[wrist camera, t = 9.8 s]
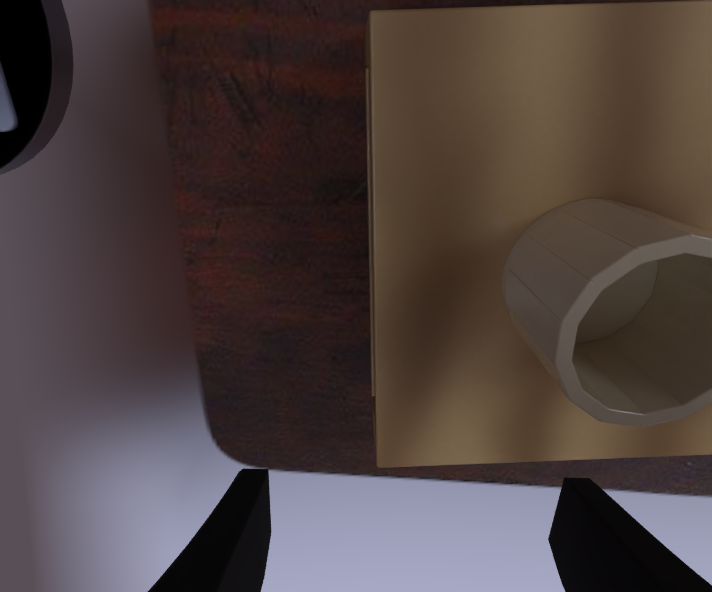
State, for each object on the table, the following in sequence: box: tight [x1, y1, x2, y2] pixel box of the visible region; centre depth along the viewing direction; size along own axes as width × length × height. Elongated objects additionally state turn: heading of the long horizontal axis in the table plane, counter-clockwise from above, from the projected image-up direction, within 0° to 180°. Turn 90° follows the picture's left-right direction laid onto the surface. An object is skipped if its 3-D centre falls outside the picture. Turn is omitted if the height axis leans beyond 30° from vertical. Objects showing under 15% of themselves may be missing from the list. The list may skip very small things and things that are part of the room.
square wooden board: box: [364, 0, 712, 468], centre depth 17 cm, size 14×16×4 cm
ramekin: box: [501, 199, 712, 428], centre depth 14 cm, size 5×5×4 cm
